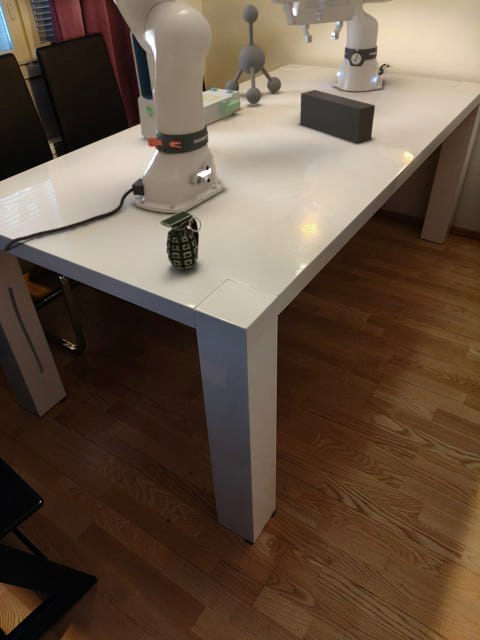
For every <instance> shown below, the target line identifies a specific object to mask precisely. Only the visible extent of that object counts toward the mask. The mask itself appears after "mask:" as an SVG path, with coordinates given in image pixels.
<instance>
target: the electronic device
mask: <svg viewBox="0 0 480 640" xmlns="http://www.w3.org/2000/svg"><path fill="white" fill-rule="evenodd" d="M129 34H130V42H131V47H132V54H133V60H134V61H133V62H134V65H135V72H136V79H137V86H138V90H139V97H138V98H137V103H138V113H139V123H140V129H141V130H140V131H141V135H142V136H143V138H144V139H146V140H148V139H149V138H150V137H152V138H156V130H157V129H158V128H157V121H156V114H155V108H154V101H153V90H154V87H155V72H156V65H155V57H154V56H152V55H150V54H149V53H147V52H146V51H145V50H144V49H143V48H142V47H141V45H140V44H139V42H138V41H137V39H136V37H135V36H134V34H133V32H132V31H131V30H130V31H129Z"/></svg>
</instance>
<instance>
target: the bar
mask: <svg viewBox="0 0 480 640" xmlns="http://www.w3.org/2000/svg"><path fill="white" fill-rule="evenodd" d="M375 108H376V105H375V104H373V103H367V102H364V101H360V100H356V99H352V98H348V97H344V96H340V95H336V94H332V93H328V92H326V91H325V92H324V91H320V90H316V89H312V90H309V91H304V92H301V93H300V114H299V115H300V118H299V125H300V126H303V127H307V128H309V129H312V130H315V131H318V132H321V133H324V134H327V135H330V136H333V137H336V138H339V139H342V140H345V141H348V142H351V143H354V144H356V145H357V144H360V143H364V142H367V141H371V140H372V136H373V135H372V134H373V126H374V118H375V111H376V110H375Z"/></svg>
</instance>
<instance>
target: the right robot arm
mask: <svg viewBox="0 0 480 640" xmlns="http://www.w3.org/2000/svg"><path fill="white" fill-rule="evenodd" d="M392 1H394V0H329V3H328V6H327V8H326V11H325V18H324V19H322V20H316V11H318V9H319V6H320V3H321V2H319V0H304V1H298V2H293V8H291V9H292V12H293V15H294V16H296V24H295V25H294V26H297V27H298V26H301V27H300V29H301V32H302V34H303V36H304V43H305V44H309V43H312V41H313V35H311V34H310V33H309V30H310V25H318V24H328V23H334V25H335V28H334V30H333V32H331V40H333V41H335V40H339V38H340V32H341V31H342V28H343V27H344V22H346V46H345V47H344V51H343V52H344V53H343V58H344V59H343V61H342V62H341V63H339V69H338V72H336V76H337V81H336V82H335V83H334V84H333V87H335V88H337V89H340V90H342V91H347V92H367V91H368V92H369V91H373V90H381V89H382V88H383V82H384V81H383V80H384V79H383V77H380V76H381V74H383V73H384V68H383V67H388V68H389V67H390V65H389V63H387V64H388V65H386V64H385V63H383V64H381V66H380V65H379V63H378V59H377V57H378V44H377V43H378V34H379V22H378V20H377V19H376V18H375V17H374V16H373V15H371V14H369V13H367V12H366V11H365V10H364V7H363V5H364V4H383V3H384V4H385V3H390V2H392ZM379 70H380V71H379Z"/></svg>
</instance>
